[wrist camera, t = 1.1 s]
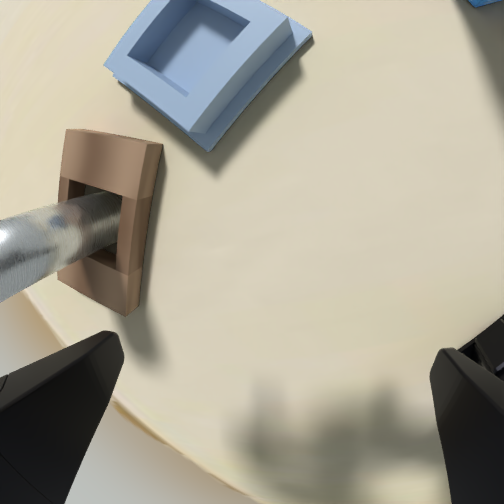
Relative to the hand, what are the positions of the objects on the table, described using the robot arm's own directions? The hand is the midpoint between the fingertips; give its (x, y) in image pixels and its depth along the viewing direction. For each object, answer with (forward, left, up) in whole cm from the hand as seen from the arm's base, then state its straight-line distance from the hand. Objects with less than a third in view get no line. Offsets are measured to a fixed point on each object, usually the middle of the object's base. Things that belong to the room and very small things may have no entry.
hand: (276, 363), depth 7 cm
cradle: (+14, -3, -12) cm, 19 cm away
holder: (+11, +11, -12) cm, 20 cm away
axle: (+11, +11, -12) cm, 20 cm away
